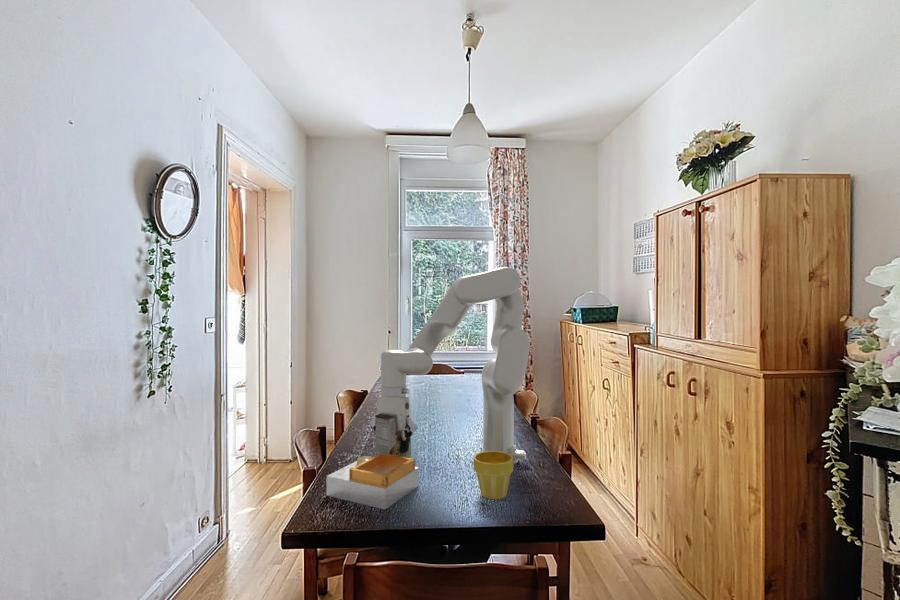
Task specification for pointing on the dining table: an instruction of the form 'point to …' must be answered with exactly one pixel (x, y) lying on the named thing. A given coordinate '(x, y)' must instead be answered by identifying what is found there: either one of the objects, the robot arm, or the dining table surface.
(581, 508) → the dining table surface
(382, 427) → the coffee box
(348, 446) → the dining table surface
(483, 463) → the plant pot
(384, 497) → the white and orange tray
